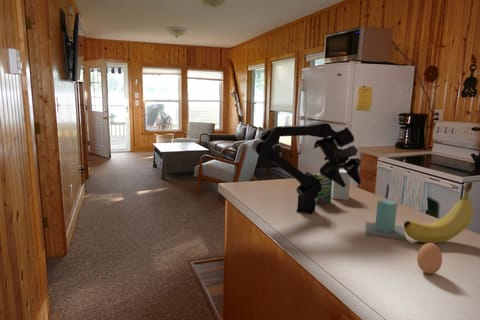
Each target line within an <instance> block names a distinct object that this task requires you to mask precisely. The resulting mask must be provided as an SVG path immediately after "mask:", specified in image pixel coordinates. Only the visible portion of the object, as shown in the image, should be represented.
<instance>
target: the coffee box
mask: <svg viewBox="0 0 480 320" xmlns="http://www.w3.org/2000/svg"><path fill="white" fill-rule="evenodd" d="M313 176H314V177H316V178H318V179H319V180H320V181H319V182H320V183H321V190H320V192H319V193H318V195H317V197H316V199H314V200H316V205H321V204H327V203H331V202H332V195H331V192H332V180H331V179H329V178H327V177H325V175H324V176H322V175H321V173H314V174H313Z"/></svg>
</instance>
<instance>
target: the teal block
mask: <svg viewBox="0 0 480 320" xmlns="http://www.w3.org/2000/svg"><path fill="white" fill-rule="evenodd" d="M376 206H377V207H376V216H375V217H376V218H375V223H376V224H375V229H377V230H379V231H382V232H385V233H389V232H391V231H394V228H395V225H396V218H397V217H396V216H397V208H398V202H396V201H394V200H390V199H382V200H378V201H377V205H376Z"/></svg>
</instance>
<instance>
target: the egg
mask: <svg viewBox="0 0 480 320" xmlns="http://www.w3.org/2000/svg"><path fill="white" fill-rule="evenodd" d="M416 262H417V266H418V267H419V269H420V270H421V271H422V272H423V273H425V274H427V275H432V274H435V273H437V272H438V271H439V270H440V269H441V267H442V264H443V256H442V252H441V249H440V248H439V246H437V245H436V243H424V244H423V245H422V246H421V248H419V251H418V252H417V257H416Z"/></svg>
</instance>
